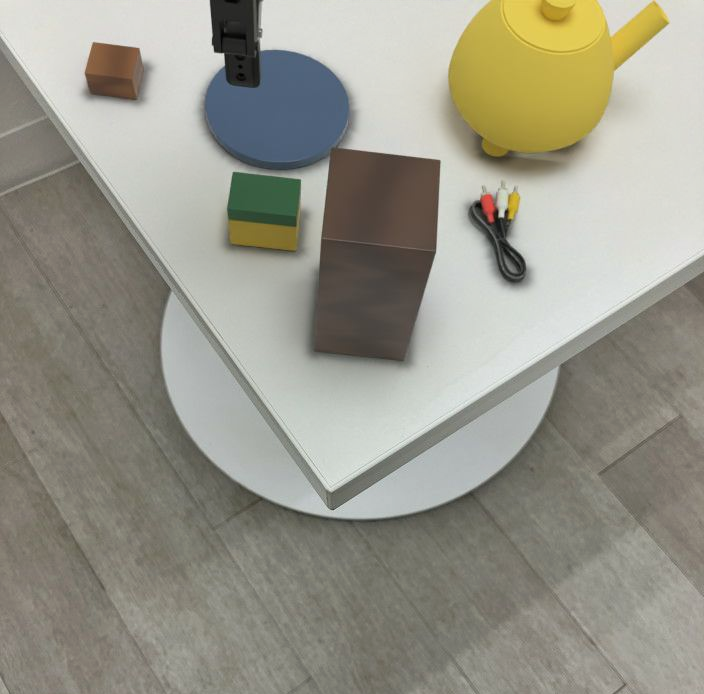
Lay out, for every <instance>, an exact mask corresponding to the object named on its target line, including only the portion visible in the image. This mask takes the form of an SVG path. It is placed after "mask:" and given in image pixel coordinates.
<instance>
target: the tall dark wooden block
mask: <svg viewBox="0 0 704 694" xmlns="http://www.w3.org/2000/svg"><path fill="white" fill-rule="evenodd" d="M329 155H330V156H329V163H328V170H327V171H328V172H327V180H326V191H325V199H324V210H323V217H322V226H321V236H320V248H319V265H318V266H319V267H318V282H317V295H316V311H315V327H314V339H313V340H314V341H313V342H314V343H313V351H314V352H319V353H329V354H337V355H338V354H339V355H347V356H355V357H357V356H358V357H366V358H374V359H375V358H376V359H385V360H395V361H406V356H407V353H408V349H409V346H410V343H411V339H412V335H413V333H414V332H413V331H414V329H415V326H416V322H417V319H418V316H419V312H420V308H421V305H422V301H423V298H424V294H425V291H426V288H427V285H428V282H429V278H430V275H431V271H432V267H433V264H434V261H435V257H436V254H437V247H438V245H437V244H438V224H439V223H438V222H439V205H440V203H439V202H440V186H441V185H440V184H441V164H442V163H441V162H442V161H441V159H435V158H428V157H427V158H426V157H419V156H411V155H404V154H403V155H402V154H393V153H387V152H386V153H384V152H377V151H368V150H359V149H351V148H343V147H336V148H335V147H332V148H331V152H330V153H329Z"/></svg>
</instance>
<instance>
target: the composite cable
mask: <svg viewBox="0 0 704 694" xmlns="http://www.w3.org/2000/svg"><path fill="white" fill-rule="evenodd" d="M481 189H482V193H480V197H479V199H476V200H474V201H473V202H472V204H471V205H470V206H469V208H468V213H469V215H470V217H471V219H472V221H473V222H474V223H475V224H476V225H477V226H478V227H479V228H480V229H481V230H482V231H483V232H484V233H485V234H486V235H487V237H489V239H490V240H491V242H492V243H493V245H494V248H495V253H496V258H497V263H498V266H499V270H500V272H501V274H502V276H503V277H504V278H505V279H506V280H508V281H510V282H513V283H517V282H521V281H522V280H523V279H524V278H525V276H526V272H527V264H526V263H527V262H526V259H525V257H523V255H522V254H521V253H520V252H519V251H518V250H517V249H515V248H514V246H512V244H510V242H509V241H508V240H507V237H508V235H509V234H508V233H509V231H510V229H511V227H512V222H513V221H514V217H515V215H516V214H517V213H518V211H519V206H520V202H521V195H520V193H519V191H518V190H519V186H518V185H514V187H513V191H512V192H511V193H509V190H508V188H507V187H506V181H505V180H503V179H502V180H501V181H500V187H498V188H497V191H496V193H495V203H494V199H493V195H492V194H491V192H490V191H488V190H487V187H486V185H485V184H482V185H481ZM476 209H479V210H481V211H482V214H483V215H484V216H485V217H486V219H487V222H486V221H484V220H483V218H482V217H481V216H480V215H479V214H478V213H477V210H476ZM504 253H505V254H506V255H507V256H508V257H509V259H510V260H511V261H512V262H513V263H514V264H515V265H516V266H517V268H518V271H519V272H512V271H511V270H510V269H509V268H508V265H507V263H506V260H505V256H504Z"/></svg>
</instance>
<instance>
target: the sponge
mask: <svg viewBox="0 0 704 694" xmlns="http://www.w3.org/2000/svg"><path fill="white" fill-rule="evenodd" d="M231 174H232V175H231V180H230V185H229V186H230V187H229V193H228V199H227V205H226V213H227V222H228V231H229V240H230V241H229V242H230V244H231V245H236V246H246V247H255V248H258V247H259V248H265V249H274V250H282V251H283V250H284V251H292V252H296V251H297V246H298V240H299V231H300V223H301V222H300V221H301V208H302V207H301V204H302V203H301V202H302V201H301V199H302V179H301V178H294V177H292V178H291V177H284V176H277V175H276V176H275V175H266V174H259V173H250V172H240V171H232V173H231Z"/></svg>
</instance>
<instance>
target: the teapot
mask: <svg viewBox="0 0 704 694" xmlns="http://www.w3.org/2000/svg"><path fill="white" fill-rule="evenodd" d="M669 24H670V20H669V18H668V16H667V14H666V13H665V11H664V9H663V8H662V7H661V5H659V3H658V2H657V1H655V0H652V1H651V2H649V4H647V5H646V6H645V7H644V8H643V9H641V11H639V12H638V13H637V14H636V15H634V16H633V18H631V19H629V21H628V22H626V23H625V24H624V25H622V27H621V28H620V29H618V30H617V31H616V32H615V33H614V34H613V35H611V33H610V28H609V25H608V21H607V18H606V16H605V13H604V10H603V7H602V6H601V4H600V2H599V1H598V0H489V1H488V2H486V4H485V5H484V6H483V7H482V8H481V9H480V10H479V11H478V12H477V13H476V14H475V15H474V16H473V17H472V19H470V21H469V22H468V24H467V25H466V27H465V28H464V30H463V32H462V33H461V34H460V37H459V39H458V41H457V43H456V45H455V46H454V50H453V52H452V55H451V57H450V61H449V66H448V73H447V79H448V80H447V81H448V87H449V88H448V89H449V92H450V95H451V99H452V101H453V104H454V106H455V108H456V109H457V111H458V112H459V114H460V115H461V117H462V118H463V119H464V121H465V122H466V123H467V124H468V126H469V127H470V128H471V129H472V130H473V131H474V132H476V134H478V135H479V136H481V137H482V138H483V139H482V141H481V148H482V149H483V151H484V152H485V153H486V154H488V155H489V156H492V157H503V156H505V155H506V154H507V153H509V151H511V152H516V153H524V154H535V153H537V154H538V153H547V152H551V151H556V150H560V149H564V148H566V147H569V146H571V145H574V144H577V143H578V142H579V141H581V140H582V139H584V138H585V137H587V136H588V135H589V134H590V133H591V132H593V130H594V129H595V128H596V127H597V126H598V124H599V123H600V121H601V120H602V118H603V116H604V114H605V112H606V109H607V107H608V104H609V101H610V98H611V94H612V88H613V82H614V75H615V72H616V71H617V69H619V68H620V67H621V66H623V64H624V63H626V62H627V61H628V60H629V59H630V58H631V57H632V56H634V55H635V54H636V53H637V52H638V51H639V50H641V49H642V48H643V47H644V46H645V45H646V44H647V43H649V42H650V41H651V40H652V39H654V37H656V36H657V35H658V34H659V33H660V32H662V30H664V29H665V28H666V27H667V26H668V25H669Z"/></svg>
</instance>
